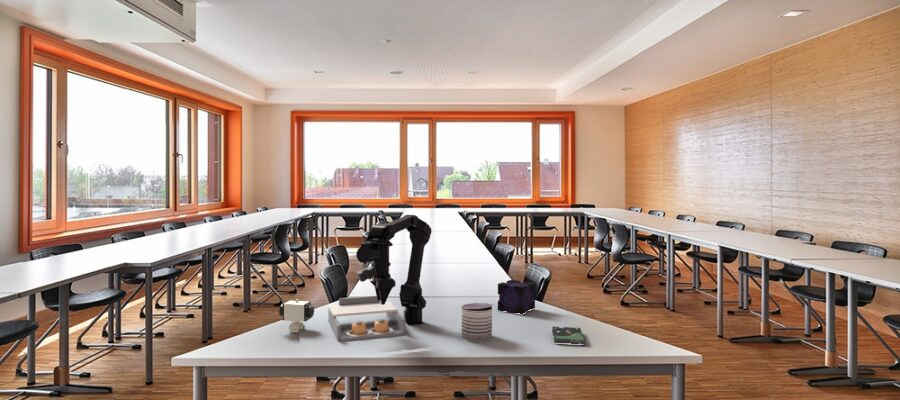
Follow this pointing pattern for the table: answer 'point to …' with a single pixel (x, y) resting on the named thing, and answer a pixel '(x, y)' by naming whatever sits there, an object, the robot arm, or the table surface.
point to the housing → (367, 328)
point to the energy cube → (516, 296)
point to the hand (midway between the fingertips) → (381, 302)
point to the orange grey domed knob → (359, 328)
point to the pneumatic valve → (296, 313)
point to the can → (477, 322)
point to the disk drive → (568, 335)
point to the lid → (361, 306)
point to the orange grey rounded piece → (381, 326)
